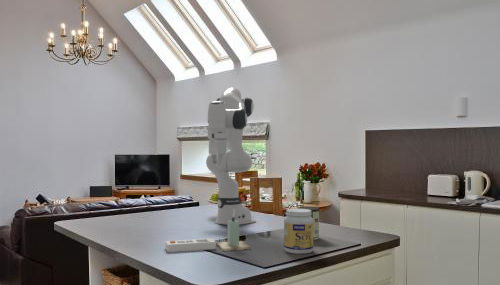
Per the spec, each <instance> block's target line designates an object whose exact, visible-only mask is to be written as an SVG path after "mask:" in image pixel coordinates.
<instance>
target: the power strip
mask: <svg viewBox="0 0 500 285" xmlns="http://www.w3.org/2000/svg"><path fill="white" fill-rule="evenodd" d="M216 243H217V241H215V240H214V239H213V238H196V239H195V238H194V239H179V240H165V245H164V246H165V247H164V248H165V250H166V252H167V253H176V252H192V251H203V250H204V251H207V250H216V249H217V245H216Z"/></svg>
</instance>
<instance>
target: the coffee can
mask: <svg viewBox="0 0 500 285" xmlns="http://www.w3.org/2000/svg"><path fill="white" fill-rule="evenodd" d="M296 209H308V210H311V214H312V215H311V217H312V218H313V221H314V222H313V241H314V240H315V239H316V240H318V239H320V207H317V206H310V205H309V206H298V207H297V208H296ZM316 240H315V241H316Z"/></svg>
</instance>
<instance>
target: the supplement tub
mask: <svg viewBox="0 0 500 285" xmlns="http://www.w3.org/2000/svg"><path fill="white" fill-rule="evenodd" d="M285 213H286V214H287V216H286V214H285V217H284V220H283V249H284V251H285V252H286V253H289V254H295V255H305V254H310V253H312V252H313V250H314V240H313V222H314V221H313V218H312V217H311V215H312V214H311V210H308V209H297V208H288V209H286V212H285Z"/></svg>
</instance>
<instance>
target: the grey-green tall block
mask: <svg viewBox="0 0 500 285" xmlns="http://www.w3.org/2000/svg"><path fill="white" fill-rule="evenodd" d="M226 230H227V231H226V232H227V238H226V239H227V241H226V242H227V244H228V245H229V246H236V245H239V241H240V225H239V221H237V220H235V217H232V220H230V221H228V225H227V229H226Z"/></svg>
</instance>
